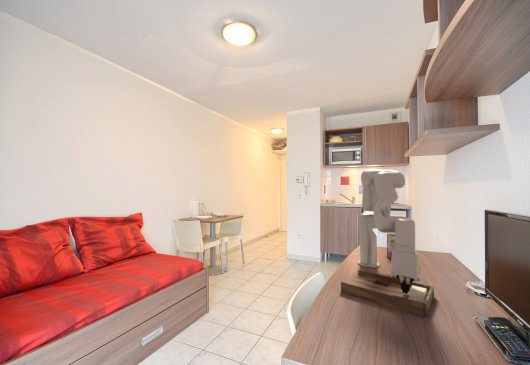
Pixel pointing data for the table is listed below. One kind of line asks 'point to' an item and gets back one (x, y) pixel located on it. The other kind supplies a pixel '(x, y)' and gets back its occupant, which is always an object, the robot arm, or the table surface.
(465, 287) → the table surface
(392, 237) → the candy bar box
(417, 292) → the cream block
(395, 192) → the robot arm
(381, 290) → the board
